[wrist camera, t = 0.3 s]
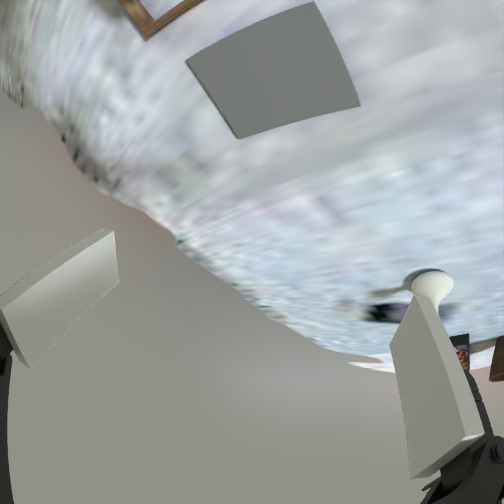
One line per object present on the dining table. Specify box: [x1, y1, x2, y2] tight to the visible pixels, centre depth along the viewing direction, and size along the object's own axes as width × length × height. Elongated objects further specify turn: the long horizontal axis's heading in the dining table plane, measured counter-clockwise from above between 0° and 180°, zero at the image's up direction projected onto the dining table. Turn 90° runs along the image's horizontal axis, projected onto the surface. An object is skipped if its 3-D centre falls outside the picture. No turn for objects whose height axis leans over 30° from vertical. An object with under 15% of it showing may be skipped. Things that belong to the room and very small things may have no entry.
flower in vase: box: [411, 271, 454, 314], centre depth 52 cm, size 13×11×25 cm
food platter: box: [449, 334, 470, 371], centre depth 91 cm, size 45×25×10 cm, turn 42°
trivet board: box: [186, 1, 361, 139], centre depth 33 cm, size 16×20×1 cm
